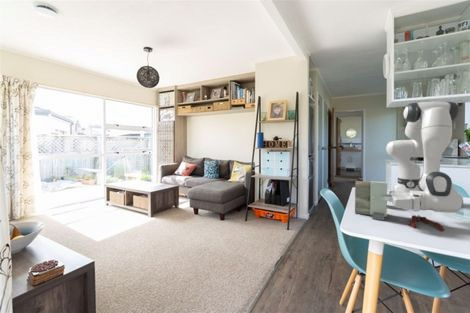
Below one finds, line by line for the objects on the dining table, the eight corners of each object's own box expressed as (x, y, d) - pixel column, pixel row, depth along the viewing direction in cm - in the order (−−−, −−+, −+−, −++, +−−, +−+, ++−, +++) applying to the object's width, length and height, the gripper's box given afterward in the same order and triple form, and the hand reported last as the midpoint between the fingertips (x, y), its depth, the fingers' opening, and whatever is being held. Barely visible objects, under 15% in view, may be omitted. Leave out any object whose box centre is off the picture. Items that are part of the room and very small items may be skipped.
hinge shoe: (372, 215, 116) (372, 210, 116) (383, 217, 114) (383, 211, 114) (372, 219, 112) (372, 213, 112) (384, 220, 109) (384, 214, 109)
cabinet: (355, 210, 126) (355, 180, 125) (384, 213, 119) (385, 182, 118) (354, 214, 120) (355, 183, 118) (385, 218, 113) (386, 185, 111)
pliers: (427, 217, 113) (427, 212, 113) (445, 232, 95) (445, 226, 95) (400, 215, 118) (400, 210, 118) (412, 229, 100) (412, 223, 100)
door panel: (370, 213, 115) (370, 181, 114) (386, 215, 112) (386, 182, 111) (370, 215, 113) (370, 182, 112) (386, 217, 109) (387, 183, 108)
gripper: (410, 189, 113) (378, 186, 120) (419, 198, 96) (381, 195, 103) (410, 201, 114) (378, 198, 121) (419, 212, 96) (381, 208, 103)
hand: (379, 196), depth 112 cm, fingers closed on door panel, 2 cm apart
